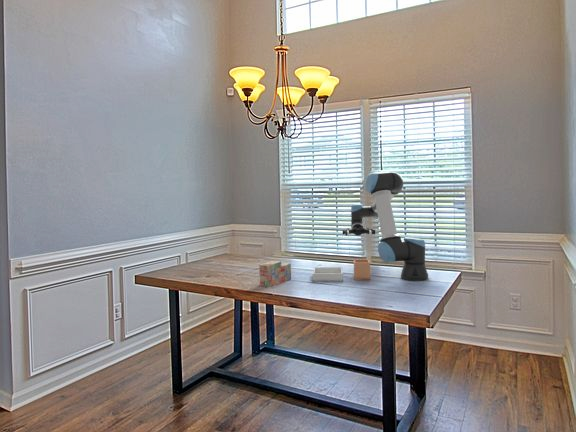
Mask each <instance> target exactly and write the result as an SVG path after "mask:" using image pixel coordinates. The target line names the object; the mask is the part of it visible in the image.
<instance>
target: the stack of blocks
mask: <svg viewBox="0 0 576 432" xmlns="http://www.w3.org/2000/svg"><path fill="white" fill-rule="evenodd" d="M258 266H259V284H260V285H259V286H262V287H267V288H270V287H271V286H272V287H273V286H275V285H279V284H281V283H284V282H286V281H289V280H292V269H291V267H292V265H291V263H290V262H289V263H288V262H286V263H285V262H282V261H279V260H270V261H267V262H264V263H260V264H259V265H258Z"/></svg>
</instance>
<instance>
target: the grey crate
mask: <svg viewBox="0 0 576 432" xmlns="http://www.w3.org/2000/svg"><path fill="white" fill-rule="evenodd" d="M343 277H344V276H343V267H342V266H331V267H330V266H328V267H327V266H325V267H323V266H317V267H316V266H314V267H313V271H312V282H316V283H317V282H344V281H343Z"/></svg>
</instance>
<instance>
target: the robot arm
mask: <svg viewBox="0 0 576 432" xmlns="http://www.w3.org/2000/svg"><path fill="white" fill-rule="evenodd" d="M403 179H404V178H403V177H402V175H401V174H399V173H397V172H396V171H395V172H394V171H384V172H383V171H382V172H381V171H379V172H378V171H377V172H376V171H375V172H370V173H369V174H368V175H367V176H366V179H365V191H366V192H367V193H369V194H370V196H371V198H374V202H373V203H372V204H371V205H368V206H366V205H365V206H363V204H362V203H353V204H351V209H350V213H351V214H350V218H351V219H350V222H351V223H350V228H349V227H348V228H346V229H343V230H342V235H345V236H347V237H349V236H350V235H351V234H352V235H355V236H361V235H364V234H365V235H366V234H367V235H369V236H370V237H372V235H376V229H373V228H370V227H366V228H364V226H363V218H378V222H379V228H380V233H381V238H380V239H379V240H380V242H379V243H378V244H377V253H378V256H379V258H380V259H381V260H382V261H383V262H385V263H394V262H403V266H402V270H401V272H400V278H401V279H403V280H406V281H418V282H419V281H426V280H428V279H429V272H428V270H427V266H426V241H425V240H424V239H422V238H418V237H406V236H405V237H404V238H403V240H402V237H401V235H399V234H398V232H397V226H396V222H395V218H394V214H393V213H394V212H393V207H392V203H391V200H392V199H394V197H395V196H396V195H398V194H400V192H401V191H402V190H403V187H404V180H403Z"/></svg>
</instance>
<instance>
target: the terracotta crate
mask: <svg viewBox="0 0 576 432" xmlns="http://www.w3.org/2000/svg"><path fill="white" fill-rule="evenodd" d="M353 279H354V280H355V281H356V280H357V281H361V280H362V281H363V280H365V281H367V280H368V281H369V280H371V261H370V259H364V258H363V259H361V258H360V259H353Z"/></svg>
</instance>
